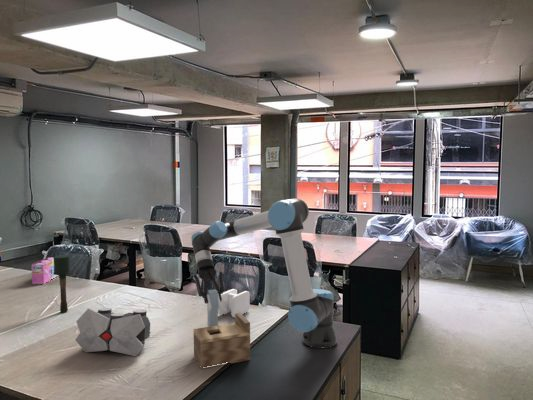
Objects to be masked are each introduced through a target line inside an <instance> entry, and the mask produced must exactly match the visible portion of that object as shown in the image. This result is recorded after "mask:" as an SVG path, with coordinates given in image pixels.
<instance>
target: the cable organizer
mask: <svg viewBox="0 0 533 400" xmlns="http://www.w3.org/2000/svg"><path fill="white" fill-rule="evenodd" d="M250 293H251V292H250V291H248V290H244V291H242V292H239V293H238V290H237V289H236V288H232V289H228V290H227V291H226V290H225V291H224V292H223V294H221V298H222V301H221V309H220V310H218V315H220V316H224V315H226V314H228V313H230V312H231V317H232V318H235V313H241V314H242V315H245V314H247V313H248V312H249V311H250V308H251V307H250V306H251V305H250V304H251V302H250V301H251V300H250V297H251V294H250ZM246 312H247V313H246ZM244 313H245V314H244ZM223 314H224V315H223Z"/></svg>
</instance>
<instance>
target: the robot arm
mask: <svg viewBox="0 0 533 400" xmlns="http://www.w3.org/2000/svg"><path fill="white" fill-rule="evenodd" d="M309 214H310V211H309V206H308V204H307V203H306V202H305V201H304V200H302V199H301V198H297V197H296V198H289V199H287V198H286V199H280V200H278V201H276V202H274V203H272V204H271V206H270V207H269V210H265V211H263V212H260V213H255V214H253V215H249V216H245V217H242V218H238V219H235V220H232V221H227V222H223V221H220V220H216V221H214V222H213V223H211V224H210V225H209V226H208V227H207V228H206V229H205V230H204V231H202V230H201V231H197V232H195V233H193V234H192V235H191V238H190V239H191V245H192V249H193V253H194V259H195V264H196V269H197V274H193V277H192V280H193V281H194V283H195V287H196V291H197V295H198V297H202V298H203V300H204V301H203V302H204V304H207V305H208V310H209V311H211V309H212V307H211V303H210V298H209V294H208V295H207V290H208V289H207V288H208V287H207V286H208V285H207V283H208V282H210V283H211V284H212V285H211V286H212V287H213V289H216V290H217V291H218V310H220V309H221V301H222V298H221V294H223V293H224V292H225V289H224V288H225V287H224V282H223V277H222V276H223V272H222V271H220V272H218V271H217V270H216V268H215V264H214V261H213V257H212V252H211V247H212V246H214V245H215V244H216V243H218V242H219V241H222V240H226V239H229V238H230V239H231V238H235V237H238V236H241V235H242V236H243V235H245V234H249V233H253V232H257V231H261V230H264V229H268V228H273V229H274V230H275V235H276V236H277V237H279V238H280V241H281V245H282V251H283V255H284V261H285V267H286V270H287V274H288V281H289V285H290V291H291V296H290V298H289V303H290V304H289V305H290V309H289V311H288V313H287V318H288V322H289V324H290V325H291V327H292V328H294V329H295V330H296V331H298V332H300V333H302V335H301V337H302V339H301V340H302V343H303V344H304V343H305V344H306V346H307V345H308V346H307V347H309V346H312V347H311V348H313V347H319V348H318V349H322V348H321V347H330V346H333V345H335V344H336V345H337V343H336V342H338V339H337V338H338V337H337V333H336V331H335V330H336V329H335V327H334V293H333V292H332V291H330V290H327V289H322V288H321V289H320V288H313V287H312V281H311V276H310V271H309V266H308V262H307V258H306V257H307V256H306V252H305V247H304V243H303V237H302V233H303V231H304V223H305V221H307V219H308V218H309ZM215 276H216V278H217V281H218V283H217V281H216V278H215ZM200 279H201V280H202V286H201V281H200ZM305 344H304V345H305ZM336 345H335V346H336ZM333 347H334V346H333ZM330 348H331V347H330Z"/></svg>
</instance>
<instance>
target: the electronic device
mask: <svg viewBox="0 0 533 400" xmlns="http://www.w3.org/2000/svg"><path fill="white" fill-rule="evenodd" d="M147 313H148V312H147V310H144V309H135V310H133V311H132V312H127V313H121V312H115V313H114V312H112V308H109V307H101V308H98V310H97V311H96V310H94V309H92V308H87V309H86V310H85V312H84V313H83V314H82V315H80V317H79V318H78V319H77V320H76V325H77V327H78V331H79V333H78V335H77V337H76V338H75V342H76V343H77V344H78V345H79V346H80V347H81V349H82V350H83V351H84V352H85V353H92V352H93V353H94V352H104V351H109V352H114V353H119V354H124V355H129V356H134V357H137V356H138V355H139V354H140V352H141V351H142V349H143V348H144V346H145V341H146V340H147V339H149V338H150V337H151V336H150V335H151V321H150V320H149V317H148V316H147Z"/></svg>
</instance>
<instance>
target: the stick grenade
mask: <svg viewBox="0 0 533 400" xmlns="http://www.w3.org/2000/svg"><path fill="white" fill-rule="evenodd" d="M53 258H54V273H53V274H54V275H59V277H58V279H59V287H60V305H59V307H60V309H59V312H60V314H61V313H63V314H64V313H67V312H68V310H69V308H68V301H67V275H69V274H71V273H72V269H71V267H72V266H71V255H69V254H60V255H55V256H54V257H53Z"/></svg>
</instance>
